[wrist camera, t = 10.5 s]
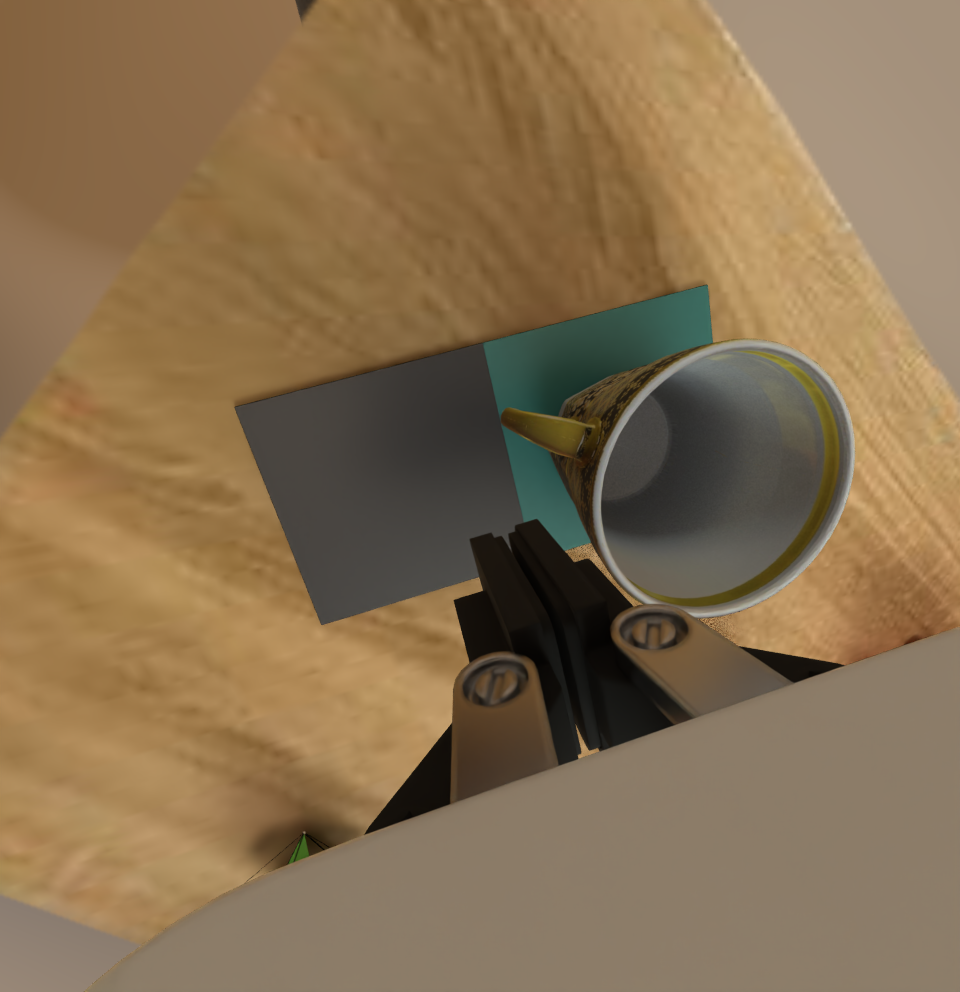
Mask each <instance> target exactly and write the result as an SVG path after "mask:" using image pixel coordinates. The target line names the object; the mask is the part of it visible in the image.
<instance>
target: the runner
mask: <svg viewBox="0 0 960 992" xmlns="http://www.w3.org/2000/svg"><path fill="white" fill-rule="evenodd" d="M710 343H713V339H712V328H711V316H710V305H709V293H708V285H704V286H700V287H696V288H692V289H688V290H685V291H681V292H677V293H673V294H669V295H665V296H661V297H658V298H654V299H650V300H646V301H642V302H638V303H634V304H631V305H627V306H623V307H619V308H615V309H611V310H607V311H603V312H600V313H596V314H592V315H588V316H584V317H580V318H576V319H573V320H569V321H565V322H561V323H557V324H553V325H549V326H546V327H542V328H538V329H534V330H530V331H526V332H522V333H519V334H515V335H511V336H507V337H503V338H499V339H495V340H492V341H488V342H484V343H480V344H476V345H472V346H468V347H464V348H461V349H457V350H453V351H449V352H445V353H441V354H437V355H434V356H430V357H426V358H422V359H418V360H414V361H410V362H407V363H403V364H399V365H395V366H391V367H387V368H383V369H380V370H376V371H372V372H368V373H364V374H360V375H356V376H353V377H349V378H345V379H341V380H337V381H333V382H329V383H325V384H322V385H318V386H314V387H310V388H306V389H302V390H298V391H295V392H291V393H287V394H283V395H279V396H275V397H271V398H268V399H264V400H260V401H256V402H252V403H248V404H244V405H241V406H237V407H235V410H236V413H237V415H238V418H239V420H240V423H241V425H242V428H243V430H244V433H245V435H246V438H247V440H248V443H249V445H250V448H251V450H252V453H253V455H254V458H255V460H256V463H257V465H258V468H259V470H260V473H261V475H262V478H263V480H264V483H265V485H266V488H267V490H268V493H269V495H270V498H271V500H272V503H273V505H274V508H275V510H276V513H277V515H278V518H279V520H280V523H281V525H282V528H283V530H284V533H285V535H286V538H287V540H288V543H289V545H290V548H291V550H292V553H293V555H294V558H295V560H296V563H297V565H298V568H299V570H300V573H301V575H302V578H303V580H304V583H305V585H306V588H307V590H308V593H309V595H310V598H311V600H312V603H313V605H314V608H315V610H316V613H317V615H318V618H319V620H320V623H321V625H324V624H327V623H331V622H334V621H337V620H340V619H344V618H347V617H350V616H353V615H357V614H360V613H363V612H366V611H370V610H373V609H376V608H379V607H383V606H386V605H389V604H392V603H396V602H399V601H402V600H405V599H409V598H412V597H415V596H418V595H422V594H425V593H428V592H431V591H435V590H438V589H441V588H444V587H448V586H451V585H454V584H458V583H461V582H464V581H467V580H471V579H474V578H477V577H479V574H478V570H477V566H476V563H475V559H474V555H473V552H472V548H471V544H470V540H469V539H471V538H474V537H477V536H481V535H484V534H487V533H492V534H493V536H494V538H495V537H498V536H502V537H503V538H504V540H505V542H506V543H507V545H508V547H509V548H510V550H511V546H510V542H509V537H508V533H512V532H515V525H517V524H521V523H524V522H527V521H531V520H534V519H538V520H539V521H540V522H541V524H542V525H543V526H544V527H545V528H546V530H547V531H548V532H549V533H550V534H551V535H552V537H553V538H554V539H555V540H556V541H557V543H558V544H559V545H560V546H561V547H562V549H563V550H564V551H565V550H568V549H571V548H575V547H578V546H581V545H584V544H588V543H591V541H590V539H589V537H588V535H587V533H586V531H585V529H584V527H583V524H582V522H581V520H580V517H579V515H578V512H577V509H576V506H575V504H574V503H573V501H572V500H571V498H570V496H569V494H568V492H567V490H566V488H565V486H564V484H563V482H562V480H561V478H560V476H559V474H558V471H557V469H556V467H555V465H554V463H553V460H552V458H551V456H550V454H549V451H548V450H547V449H545V448H543V447H541V446H539V445H537V444H535V443H533V442H531V441H528V440H527V439H525V438H523V437H521V436H520V435H518V434H516V433H515V432H513V431H511V430H509V429H508V428H506V427H504V426H503V425H502V424H501V414H502V412H503V411H504V409H505V408H508V407H510V408H514V409H518V410H521V411H526V412H533V413H539V414H545V415H551V416H557V417H558V415H559V412H560V409H561V407H562V404H563V403H564V401H565V400H566V399H568V398H570V397H572V396H573V395H575V394H577V393H579V392H581V391H583V390H584V389H586V388H588V387H590V386H592V385H594V384H596V383H597V382H599V381H601V380H603V379H605V378H607V377H609V376H612V375H615V374H617V373H621V372H624V371H628V370H631V369H635V368H638V367H641V366H644V365H647V364H650V363H652V362H654V361H656V360H658V359H661V358H663V357H665V356H668V355H671V354H674V353H677V352H680V351H684V350H687V349H690V348H693V347H696V346H701V345H705V344H710ZM511 552H512V550H511Z"/></svg>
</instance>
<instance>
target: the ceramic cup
mask: <svg viewBox="0 0 960 992" xmlns="http://www.w3.org/2000/svg"><path fill="white" fill-rule="evenodd" d="M501 424H502V425H503V426H504V427H506V428H508V429H509V430H511V431H513V432H515V433H516V434H518V435H520V436H521V437H523V438H525V439H527V440H528V441H531V442H533V443H535V444H537V445H539V446H541V447H543V448H545V449H547V450H548V451H549V454H550V456H551V458H552V460H553V463H554V465H555V467H556V469H557V471H558V474H559V476H560V478H561V480H562V482H563V484H564V486H565V488H566V490H567V492H568V494H569V496H570V498H571V500H572V501H573V503H574V504H575V506H576V509H577V512H578V515H579V517H580V520H581V522H582V524H583V527H584V529H585V531H586V533H587V535H588V537H589V539H590V541H591V543H592V545H593V547H594V549H595V551H596V553H597V554H598V556H599V557H600V559H601V561H602V562H603V564H604V565H605V567H606V568H607V570H608V571H609V573H610V574H611V576H612V577H613V578H614V580H615V581H616V582H617V583H618V585H619V586H620V587H621V588H622V589H623V590H624V591H625V592H626V593H628V594H629V595H630V596H631V597H633V598H634V599H635V600H637V601H638V602H640V603H642V604H643V605H644V604H666V605H670V606H674V607H678V608H680V609H682V610H684V611H686V612H688V613H689V614H691V615H692V616H694V617H695V618H697V619H702V618H714V617H720V616H725V615H729V614H732V613H736V612H740V611H742V610H745V609H747V608H750V607H752V606H755V605H757V604H759V603H760V602H762V601H764V600H766V599H768V598H769V597H771V596H773V595H774V594H776V593H778V592H779V591H780V590H782V589H783V588H784V587H786V586H787V585H788V584H790V583H791V582H792V581H793V580H794V579H795V578H796V577H797V576H799V575H800V574H801V573H802V572H803V571H804V570H805V569H806V568H807V567H808V566H809V565H810V564H811V562H812V561H813V560H814V559H815V557H816V556H817V555H818V554H819V552H820V551H821V550H822V548H823V547H824V545H825V544H826V542H827V541H828V539H829V538H830V536H831V535H832V533H833V531H834V529H835V527H836V525H837V523H838V521H839V519H840V517H841V514H842V512H843V510H844V507H845V504H846V501H847V498H848V495H849V491H850V487H851V483H852V479H853V472H854V462H855V441H854V431H853V426H852V421H851V417H850V414H849V410H848V408H847V405H846V403H845V400H844V398H843V396H842V394H841V392H840V390H839V389H838V387H837V386H836V384H835V382H834V381H833V379H832V378H831V377H830V376H829V375H828V373H827V372H826V371H825V370H824V369H823V368H822V367H821V366H820V365H819V364H818V363H817V362H815V361H814V360H812V359H811V358H809V357H808V356H806V355H805V354H803V353H802V352H800V351H798V350H796V349H794V348H792V347H789V346H786V345H783V344H781V343H777V342H773V341H767V340H761V339H733V340H727V341H721V342H715V343H710V344H705V345H701V346H696V347H693V348H690V349H687V350H684V351H680V352H677V353H674V354H671V355H668V356H665V357H663V358H661V359H658V360H656V361H654V362H652V363H650V364H647V365H644V366H641V367H638V368H635V369H631V370H628V371H624V372H621V373H617V374H615V375H612V376H609V377H607V378H605V379H603V380H601V381H599V382H597V383H596V384H594V385H592V386H590V387H588V388H586V389H584V390H583V391H581V392H579V393H577V394H575V395H573V396H572V397H570V398H568V399H566V400H565V401H564V403H563V404H562V407H561V409H560V412H559V415H558V417H557V416H551V415H545V414H539V413H533V412H526V411H521V410H518V409H514V408H510V407H508V408H505V409H504V411H503V412H502V414H501Z"/></svg>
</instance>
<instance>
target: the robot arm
mask: <svg viewBox="0 0 960 992" xmlns="http://www.w3.org/2000/svg"><path fill="white" fill-rule="evenodd" d="M508 537H509V542H510V546H511V550H512V552H511V550H510V548H509V547H508V545H507V543H506V542H505V540H504V538H503V537H502V536H498V537H495V538H494V536H493V534H492V533H487V534H484V535H481V536H477V537H474V538H471V539H469V540H470V544H471V548H472V552H473V555H474V559H475V563H476V566H477V570H478V574H479V577H480V581H481V585H482V588H483V591H481V592H478V593H475V594H471V595H468V596H465V597H462V598H459V599H455V600H454V604H455V607H456V611H457V615H458V619H459V623H460V627H461V631H462V635H463V639H464V642H465V646H466V650H467V654H468V658H469V662H470V663H469V664H468V665H467V666H466V667H465V668H464V669H462V670H461V672H460V673H459V675H458V676H457V678H456V680H455V684H454V688H453V716H452V724H451V725H450V726H449V727H448V729H447V730H446V731H445V732H444V734H443V735H442V736H441V737H440V739H439V740H438V741H437V742H436V744H435V745H434V746H433V747H432V749H431V750H430V751H429V752H428V754H427V755H426V756H425V757H424V759H423V760H422V761H421V762H420V764H419V765H418V766H417V767H416V769H415V770H414V771H413V772H412V774H411V775H410V776H409V778H408V779H407V780H406V781H405V783H404V784H403V785H402V786H401V788H400V789H399V790H398V791H397V793H396V794H395V795H394V796H393V798H392V799H391V800H390V801H389V803H388V804H387V805H386V806H385V808H384V809H383V810H382V811H381V813H380V814H379V815H378V816H377V818H376V819H375V820H374V821H373V823H372V824H371V825H370V826H369V828H368V830H367V831H366V833H365V834H364V835H363V836H360V837H357V838H355V839H352V840H349V841H347V842H344V843H342V844H339V845H337V846H334V847H332V848H329V849H327V850H324V851H321V852H319V853H316V854H314V855H311V856H309V857H306V858H304V859H301V860H299V861H296V862H293V863H291V864H288V865H286V866H283V867H281V868H278V869H276V870H273V871H271V872H268V873H266V874H264V875H262V876H259V877H257V878H255V879H253V880H251V881H249V882H247V883H245V884H243V885H241V886H239V887H236V888H234V889H232V890H230V891H228V892H226V893H224V894H222V895H220V896H218V897H216V898H215V899H213V900H211V901H210V902H208V903H206V904H205V905H203V906H201V907H199V908H198V909H196V910H194V911H193V912H191V913H189V914H187V915H186V916H184V917H182V918H181V919H179V920H177V921H175V922H174V923H172V924H171V925H169V926H168V927H167V928H165V929H164V930H162V931H161V932H160V933H158V934H157V935H155V936H154V937H153V938H151V939H150V940H148V941H147V942H146V943H144V944H143V945H141V946H140V947H139V948H137V949H136V950H135V951H133V952H132V953H130V954H129V955H127V956H126V957H125V958H123V959H122V960H121V961H119V962H118V963H117V964H116V965H115V966H113V967H112V968H111V969H110V970H108V971H107V972H106V973H105V974H104V975H102V976H101V977H100V978H99V979H98V980H96V981H95V982H94V983H93V984H92V985H91V986H90V987H88V988H87V989H86V990H85V991H84V992H960V627H957V628H954V629H950V630H947V631H944V632H941V633H938V634H936V635H933V636H930V637H927V638H924V639H921V640H918V641H915V642H912V643H909V644H906V645H904V646H901V647H898V648H895V649H892V650H889V651H886V652H883V653H880V654H877V655H875V656H872V657H869V658H866V659H863V660H860V661H857V662H854V663H851V664H848V665H841V664H838V663H832V662H826V661H821V660H815V659H809V658H803V657H798V656H792V655H786V654H781V653H775V652H769V651H763V650H758V649H752V648H746V647H740V646H737V645H736V644H734V643H733V642H731V641H730V640H728V639H727V638H725V637H724V636H722V635H721V634H719V633H718V632H716V631H715V630H713V629H712V628H710V627H709V626H707V625H706V624H704V623H703V622H701V621H700V620H698V619H697V618H695V617H694V616H692V615H691V614H689V613H688V612H686V611H684V610H682V609H680V608H678V607H674V606H670V605H666V604H644V605H638V606H635V607H633V606H632V604H631V603H630V602H629V601H628V600H627V599H626V598H625V597H624V596H623V595H622V594H621V593H620V591H619V590H618V589H617V588H616V587H615V586H614V585H613V584H612V583H611V582H610V581H609V580H608V579H607V577H606V576H605V575H604V574H603V573H602V572H601V571H600V570H599V569H598V568H597V567H596V566H595V564H594V563H593V562H592V561H591V560H589V559H584V560H581V561H577V562H573V560H572V559H571V558H570V557H569V556H568V554H567V553H566V552H565V551H564V550H563V549H562V547H561V546H560V545H559V544H558V543H557V541H556V540H555V539H554V538H553V537H552V535H551V534H550V533H549V532H548V531H547V530H546V528H545V527H544V526H543V525H542V524H541V522H540V521H539V520H538V519H534V520H531V521H527V522H524V523H521V524H517V525H515V532H512V533H508ZM575 724H576V725H575ZM576 726H577V728H578V730H579V732H580V734H581V736H582V738H583V740H584V742H585V744H586V746H587V748H588V750H593V749H596V748H598V749H599V751H600V752H597V753H594V754H591V755H588V756H585V757H583V758H580V759H578V755H579V754H581V748H580V743H579V739H578V734H577V730H576Z"/></svg>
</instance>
